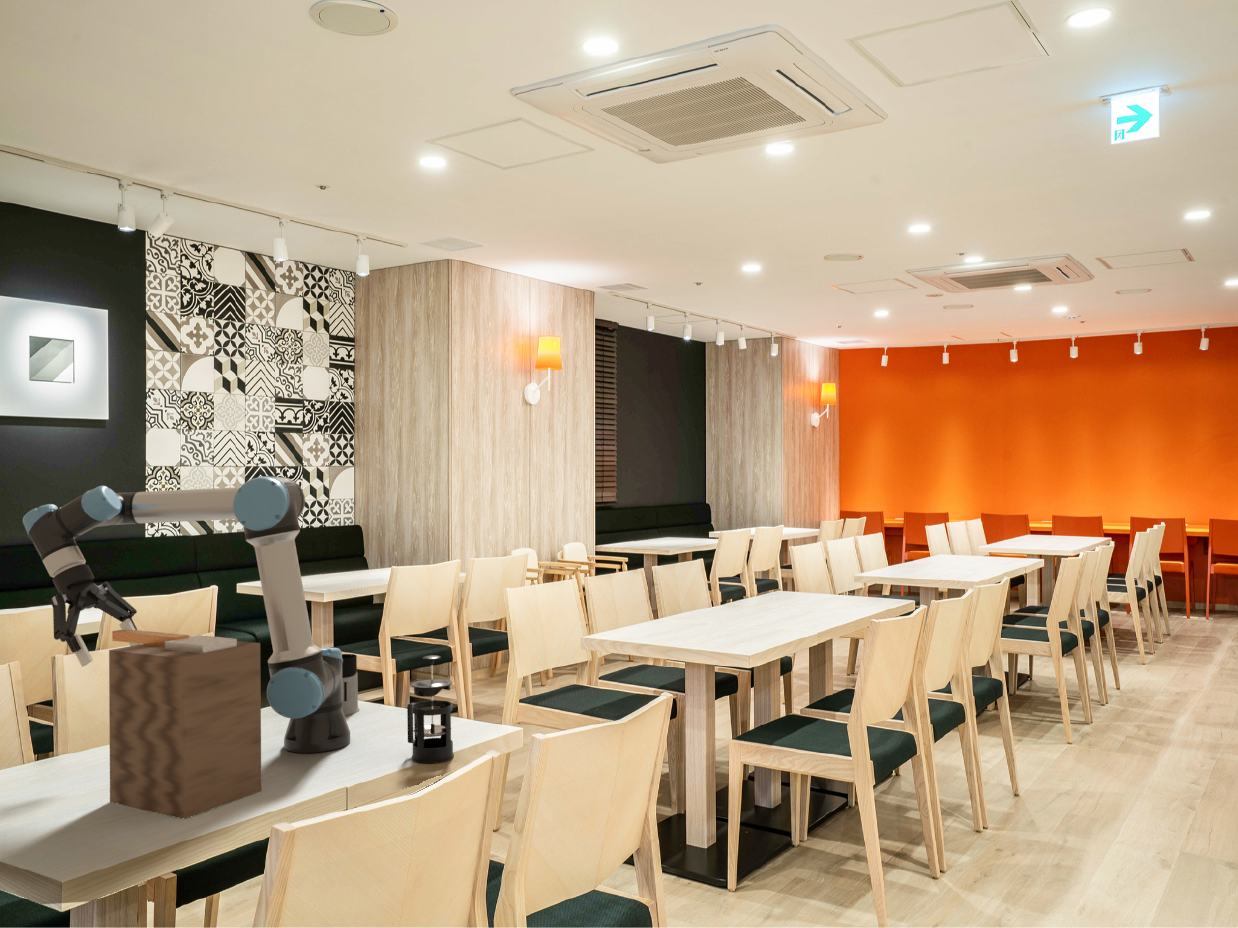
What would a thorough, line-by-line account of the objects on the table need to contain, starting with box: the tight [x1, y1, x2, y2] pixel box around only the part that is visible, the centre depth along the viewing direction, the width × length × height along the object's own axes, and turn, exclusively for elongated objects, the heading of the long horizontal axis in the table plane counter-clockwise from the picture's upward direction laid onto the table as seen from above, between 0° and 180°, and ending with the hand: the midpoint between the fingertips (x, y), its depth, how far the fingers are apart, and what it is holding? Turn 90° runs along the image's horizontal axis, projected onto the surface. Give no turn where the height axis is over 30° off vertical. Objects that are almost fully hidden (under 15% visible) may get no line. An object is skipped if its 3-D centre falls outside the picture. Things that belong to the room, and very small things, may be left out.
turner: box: [111, 629, 238, 654], centre depth 194 cm, size 31×8×2 cm, turn 62°
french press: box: [406, 654, 455, 765], centre depth 216 cm, size 12×9×23 cm
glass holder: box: [342, 653, 360, 716], centre depth 258 cm, size 9×14×15 cm, turn 2°
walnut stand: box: [108, 635, 262, 820], centre depth 192 cm, size 22×18×30 cm
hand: (113, 654), depth 210 cm, fingers open, 13 cm apart
